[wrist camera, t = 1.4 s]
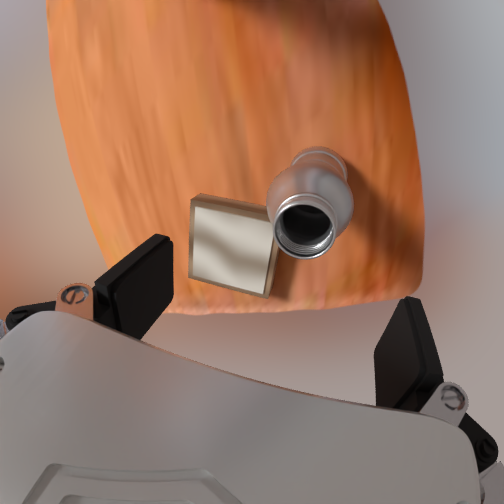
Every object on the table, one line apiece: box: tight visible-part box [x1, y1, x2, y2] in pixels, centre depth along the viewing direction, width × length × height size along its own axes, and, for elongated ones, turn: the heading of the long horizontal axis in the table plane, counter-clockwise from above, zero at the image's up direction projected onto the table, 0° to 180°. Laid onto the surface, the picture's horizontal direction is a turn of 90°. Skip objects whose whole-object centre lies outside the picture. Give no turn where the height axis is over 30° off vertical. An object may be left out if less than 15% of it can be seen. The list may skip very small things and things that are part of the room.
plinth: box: [188, 193, 280, 299], centre depth 39 cm, size 12×12×3 cm
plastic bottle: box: [266, 147, 354, 259], centre depth 25 cm, size 6×7×20 cm
